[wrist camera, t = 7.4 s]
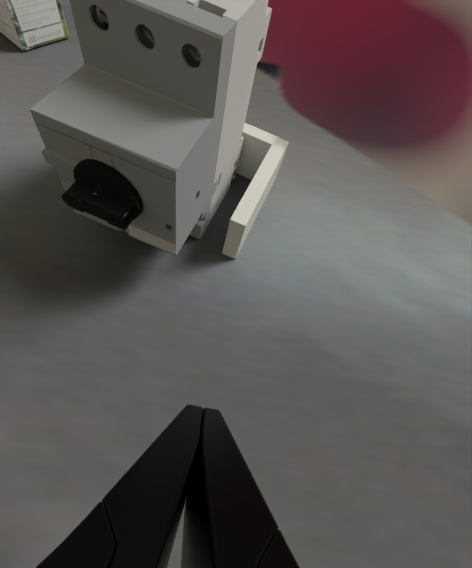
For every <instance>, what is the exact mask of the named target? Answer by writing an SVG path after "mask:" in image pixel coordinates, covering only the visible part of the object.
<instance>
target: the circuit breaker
mask: <svg viewBox="0 0 472 568" xmlns="http://www.w3.org/2000/svg"><path fill="white" fill-rule="evenodd" d="M70 4H71V8H72V13H73V17H74V21H75V25H76V29H77V34H78V38H79V42H80V46H81V50H82V55H83V59H84V66H82V67H81V68H80V69H79V70H77V71H76V72H75V73H74V74H72V75H71V76H70V77H69V78H68V79H66V80H65V81H64V82H63V83H61V84H60V85H59V86H58V87H56V88H55V89H54V90H53V91H51V92H50V93H49V94H48V95H47V96H45V97H44V98H43V99H42V100H40V101H39V102H38V103H37V104H35V105H34V106H33V107H32V108H31V109H30V111H31V113H32V116H33V119H34V121H35V122H36V123H35V124H36V126H37V128H38V131H39V133H40V135H41V137H42V140H43V142H44V144H45V147H46V148H45V149H44V150H43V151H42V153H43V155H44V157H45V160H46V162H47V163H49V164H52V165H54V167H55V170H56V172H57V174H58V177H59V179H60V181H61V183H62V186H63V188H64V190H65V193H64V194H63V195H62V198H63V200H64V201H65V202H66V203H67V204H68V205H69V206H70V207H72V209H73V211H74V212H75V213H78V214H80V215H82V216H85V217H87V218H89V219H92V220H94V221H96V222H99V223H101V224H103V225H105V226H108V227H110V228H112V229H115V230H117V231H119V232H121V230H123V231H126V232H128V233H129V234H128V235H129V236H131V237H133V238H136V239H138V240H140V241H143V242H145V243H147V244H150V245H152V246H154V247H156V248H159V249H161V250H163V251H166V252H168V253H170V254H173V255H175V256H177V254H178V252H179V251H180V249H181V247H182V246H183V244H184V242H185V241H186V239H187V237H188V236H189V235H190V236H192V237H195V238H197V239H199V240H200V239H201V237H202V235H203V234H204V232H205V230H206V228H207V227H208V225H209V223H210V221H211V220H212V218H213V216H214V214H215V212H216V211H217V209H218V207H219V205H220V204H221V202H222V200H223V198H224V197H225V195H226V193H227V191H228V190H229V188H230V184H231V180H232V181H234V179H235V176H236V175H234V174H233V173H234V171H235V169H236V168H237V166H238V162H239V157H240V153H241V148H242V144H243V139H244V137H242V132H243V127H244V122H245V118H246V113H247V108H248V104H249V99H250V94H251V89H252V85H253V80H254V75H255V70H256V66H257V63H258V61H259V60H260V59H261V57H262V52H263V47H264V43H265V39H266V34H267V30H268V24H269V21H270V15H271V11H272V9H271V8H269V7H267V5H268V0H70ZM259 43H260V44H259Z"/></svg>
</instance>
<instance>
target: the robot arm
mask: <svg viewBox="0 0 472 568" xmlns="http://www.w3.org/2000/svg"><path fill="white" fill-rule="evenodd" d="M185 500H186V503H185ZM184 504H185V512H184V527H183V543H182V560H181V568H299V566H298V564H297V562H296V560H295V558H294V556H293V555H292V553H291V551H290V549H289V547H288V545H287V543H286V541H285V539H284V537H283V535H282V533H281V531H280V530H278V525H277V523H276V521H275V519H274V517H273V515H272V513H271V512H270V510H269V508H268V506H267V504H266V502H265V500H264V498H263V496H262V494H261V492H260V490H259V488H258V486H257V484H256V482H255V480H254V478H253V476H252V474H251V472H250V470H249V468H248V466H247V464H246V462H245V460H244V458H243V456H242V454H241V452H240V450H239V448H238V446H237V444H236V442H235V440H234V438H233V436H232V434H231V432H230V430H229V428H228V426H227V424H226V422H225V420H224V418H223V416H222V414H221V412H220V411H219V410H216V409H211V408H204V409H203V408H202V407H200V406H195V405H187V406H185V408H184V409H183V410H182V411H181V412H180V413H179V414H178V415H177V417H176V418H175V419H174V420H173V421H172V422H171V423H170V424H169V425H168V427H167V428H166V429H165V430H164V431H163V432H162V433H161V434H160V435H159V437H158V438H157V439H156V440H155V441H154V442H153V443H152V444H151V446H150V447H149V448H148V449H147V450H146V451H145V452H144V453H143V454H142V456H141V457H140V458H139V459H138V460H137V461H136V462H135V463H134V465H133V466H132V467H131V468H130V469H129V470H128V471H127V472H126V473H125V475H124V476H123V477H122V478H121V479H120V480H119V481H118V482H117V484H116V485H115V486H114V487H113V488H112V489H111V490H110V491H109V492H108V494H107V495H106V496H105V497H104V498H103V499H102V502H99V503H98V504H97V506H96V507H95V508H94V509H93V510H92V511H91V512H90V513H89V515H88V516H87V517H86V518H85V519H84V520H83V521H82V522H81V523H80V524H79V525H78V526H77V527H76V528H75V529H74V531H73V532H72V533H71V534H70V535H69V536H68V537H67V538H66V539H65V540H64V541H63V542H62V543H61V544H60V545H59V546H58V547H57V548H56V549H55V550H54V551H53V552H52V553H51V554H50V555H49V556H47V557H46V558H45V559H44V560H43V561H42V562H41V563H40V564H39V565H38V566H37V567H36V568H167V565H168V561H169V558H170V554H171V551H172V547H173V544H174V540H175V537H176V533H177V530H178V526H179V523H180V519H181V516H182V512H183V508H184Z"/></svg>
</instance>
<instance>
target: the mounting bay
mask: <svg viewBox="0 0 472 568" xmlns="http://www.w3.org/2000/svg"><path fill="white" fill-rule="evenodd" d="M242 137H244V139H243V144H242V148H241V153H240V157H239V162H238V166H237V168H236V169H235V171H234V172H235V173H237V174H239V175H241V176H244V177H246V178H248V179H251V180H252V181H251V183H250V185H249V186H248V188H247V190H246V192H245V194H244V195H243V197H242V199H241V201H240V203H239V204H238V206H237V208H236V210H235V211H234V213H233V215H232V217H231V219H230V222H229V226H228V230H227V235H226V239H225V243H224V247H223V251H222V254H224V255H227V256H229V257H231V258H233V259H236V257H237V255H238V253H239V251H240V249H241V247H242V245H243V243H244V241H245V239H246V237H247V235H248V233H249V231H250V229H251V227H252V225H253V223H254V221H255V219H256V217H257V215H258V213H259V211H260V209H261V207H262V205H263V203H264V201H265V199H266V197H267V195H268V193H269V191H270V189H271V187H272V185H273V183H274V181H275V179H276V176H277V174H278V171H279V168H280V166H281V163H282V160H283V157H284V155H285V152H286V149H287V147H288V144H289V142H288V141H286V140H284V139H281V138H279V137H277V136H274V135H272V134H270V133H267V132H265V131H263V130H260V129H258V128H256V127H253V126H251V125H249V124H247V123H244V127H243V132H242Z"/></svg>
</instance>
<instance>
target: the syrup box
mask: <svg viewBox="0 0 472 568" xmlns="http://www.w3.org/2000/svg"><path fill="white" fill-rule="evenodd" d="M0 32H1V33H2V34H3V35H4V36H6V37H7V38H8V39H9V40H10V41H12V42H13V43H14V44H15V45H17V46H18V47H19V48H20V49H22V50H23V51H26V50H29V49H33V48H36V47H39V46H43V45H46V44H49V43H52V42H56V41H59V40H62V39H65V38H68V37H69V33H68V29H67V25H66V21H65V17H64V13H63V9H62V5H61V1H60V0H0Z"/></svg>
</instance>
